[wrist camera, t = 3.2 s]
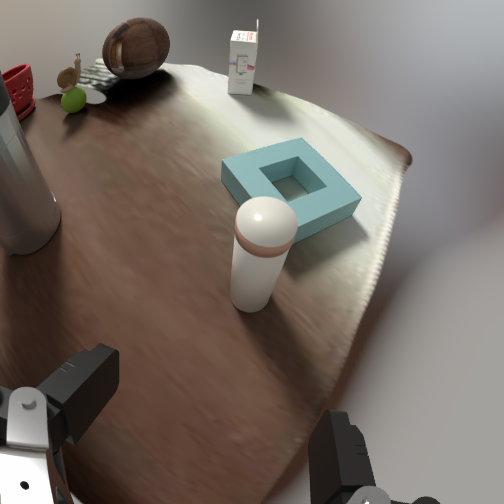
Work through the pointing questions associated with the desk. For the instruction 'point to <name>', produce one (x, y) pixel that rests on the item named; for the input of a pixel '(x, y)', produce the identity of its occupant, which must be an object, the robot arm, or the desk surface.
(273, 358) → the desk surface
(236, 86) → the ink cartridge box
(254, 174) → the teal square frame
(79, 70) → the snail figurine
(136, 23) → the wooden sphere
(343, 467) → the robot arm
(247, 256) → the white capped post
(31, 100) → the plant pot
